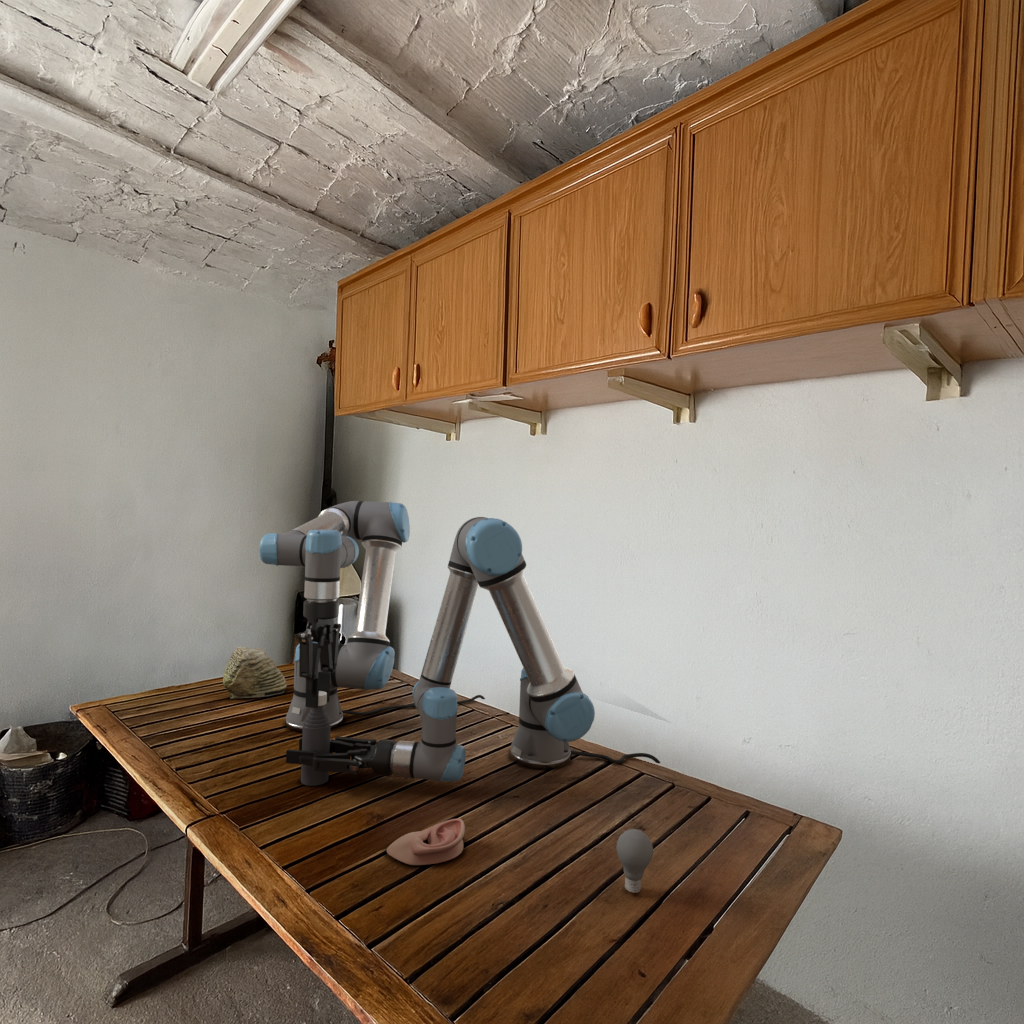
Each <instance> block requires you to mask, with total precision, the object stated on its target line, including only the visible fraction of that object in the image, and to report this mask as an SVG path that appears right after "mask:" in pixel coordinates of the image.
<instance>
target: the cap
mask: <svg viewBox="0 0 1024 1024" xmlns="http://www.w3.org/2000/svg"><path fill="white" fill-rule="evenodd" d="M326 703H327V693H326V692H324V691H319V697H318V706H322V705H325V704H326Z"/></svg>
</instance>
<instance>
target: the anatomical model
mask: <svg viewBox="0 0 1024 1024" xmlns="http://www.w3.org/2000/svg"><path fill="white" fill-rule="evenodd" d="M465 832H466V826H465V821H464V820H463V819H462V818H451V819H448V820H444V821H442V822H439V823H436V824H434V825H432V826H430V827H428V828H426V829H422V830H421V831H411V832H408V833H406V834H403V835H402V836H400V837H398V838H397V839H396V840H394V841H393V842H392V843H391V844H389V846H387V849H386V853H387V854H388V856H390V857H392V858H393V859H395V860H397V861H399V862H401V863H404V864H405V865H410V866H426V865H433V864H440V863H444V862H447V861H450V860H452V859H455V858H456V857H458V856H459V855H460V854H462V852H463V850H464V840H463V838H464V836H465Z"/></svg>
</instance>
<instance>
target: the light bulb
mask: <svg viewBox="0 0 1024 1024" xmlns="http://www.w3.org/2000/svg"><path fill="white" fill-rule="evenodd" d="M615 849H616V854H617V857H618V859H619V861H620V863H621V865H622V867H623V873H624V874H623V875H624V876H625V878H624V888H625V890H627V891H628V892H630V893H634V894H635V893H639V892H640V891H641V889H642V887H641V886H642V879H643V877H644V875H645V871H646V868H647V867H648V866H649V864H650V863H651V861H652V859H653V855H654V847H653V843H652V841H651V838H649V836H648V835H647V834H646V833H645V832H643V831H642V830H641V829H636V828H629V829H627V830H625V831H623V832H622V833H621V834H620V835H619V837H618V839H617V841H616V847H615Z"/></svg>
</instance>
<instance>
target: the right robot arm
mask: <svg viewBox="0 0 1024 1024" xmlns="http://www.w3.org/2000/svg"><path fill="white" fill-rule="evenodd" d="M527 568H528V564H527V562H526V560H525V558H524V556H523V542H522V539H521V536H520V534H519V533H518V531H517V530H516V529H515V528H514V527H513V526H512V525H511V524H509V523H508V522H507V521H505V520H502V519H500V518H494V517H485V516H476V517H472V518H470V519H468V520H466V521H465V522H463V523H462V525H461V526H460V527H459V528H458V530H457V531H456V534H455V537H454V541H453V544H452V548H451V553H450V556H449V560H448V564H447V569H448V570H449V576H448V579H447V583H446V586H445V589H444V593H443V596H442V600H441V604H440V607H439V610H438V613H437V617H436V621H435V624H434V628H433V632H432V635H431V638H430V642H429V645H428V649H427V652H426V656H425V659H424V663H423V667H422V669H421V673H420V677H419V680H418V681H417V682H416V684H414V686H413V688H412V702H413V704H415V706H416V707H415V708H416V710H417V712H418V715H419V717H420V719H421V738H420V739H421V741H412V740H398V741H396V740H394V739H384V738H381V739H379V740H378V741H377V739H375V738H371V739H369V738H368V739H365V738H356V737H355V738H354V737H346V736H335V737H334V738H330V753H328V754H317V751H315V752H314V751H302V737H300V738H299V740H298V749H288V748H287V749H286V752H285V763H286V764H294V765H301V764H304V765H314V768H313V770H314V771H324V772H329V773H344V774H350V775H358V774H359V770H361V769H362V770H363V769H372V771H373V774H374V775H375V776H378V777H391V776H393V777H394V778H404V780H408V779H416V780H417V779H419V780H427V781H436V782H437V781H438V782H441V783H442V782H450V783H451V782H459V781H460V780H461V779H462V777H463V775H464V771H465V765H466V748H465V746H463V745H461V744H457V740H456V739H457V738H456V737H457V719H458V709H459V704H457V701H458V693H457V692H456V691H455V690H454V689H451V686H452V681H453V678H454V674H455V670H456V668H457V663H458V660H459V657H460V653H461V650H462V647H463V642H464V640H465V636H466V633H467V629H468V626H469V622H470V619H471V615H472V612H473V608H474V604H475V602H476V598H477V595H478V591H479V588H480V589H483V590H486V591H488V592H489V594H490V597H491V599H492V601H493V603H494V605H495V607H496V610H497V612H498V614H499V617H500V619H501V621H502V623H503V626H504V627H505V630H506V632H507V634H508V636H509V639H510V641H511V643H512V645H513V648H514V649H515V651H516V655H517V657H518V658H519V661H520V663H521V666H522V667H523V668H522V669H521V672H520V678H519V681H520V683H519V684H520V686H519V708H518V709H519V710H518V711H519V713H518V726H517V728H516V730H515V733H514V736H513V739H512V741H511V744H510V749H509V750H510V751H509V753H510V754H509V756H510V758H511V759H512V760H513V761H514V762H516V763H517V764H519V765H522V766H524V767H529V768H533V769H556V768H560V767H564V766H566V765H567V764H568V763H569V762H570V761H571V760H572V759H571V758H572V757H571V755H573V756H581V757H587V758H596V759H602V760H606V761H608V762H610V763H612V764H622V763H625V760H626V759H632V758H647V759H651V760H652V761H653V762H654V763H655V764H661V761H660V760H659V759H658V758H657V757H655V756H654V755H653V754H650V753H646V752H636V753H626V754H623V755H622V756H621V758H620V759H619V758H618V759H616V758H612V757H610V756H608V755H605V754H602V753H601V754H600V753H594V752H587V751H586V752H585V751H577V750H571V746H570V743H572V742H575V741H577V740H580V739H581V738H583V737H584V736H585V735H586V734H587V733H588V732H589V731H590V730H591V728H592V725H593V723H594V721H595V715H596V712H595V707H594V703H593V702H592V700H591V698H590V697H589V696H588V695H587V694H586V693H584V691H583V689H582V687H581V685H580V683H579V681H578V679H577V677H576V673H575V672H574V670H573V669H572V668H570V667H567V666H565V665H564V663H563V661H562V659H561V657H560V654H559V652H558V650H557V648H556V647H557V646H556V645H555V643H554V641H553V639H552V636H551V634H550V632H549V630H548V627H547V625H546V622H545V620H544V617H543V615H542V613H541V611H540V608H539V606H538V604H537V602H536V599H535V598H534V597H535V596H534V595H533V593H532V590H531V588H530V586H529V583H528V581H527V580H526V579H527V578H526V576H525V573H526V570H527Z"/></svg>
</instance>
